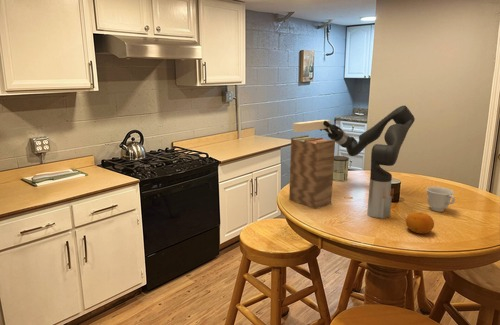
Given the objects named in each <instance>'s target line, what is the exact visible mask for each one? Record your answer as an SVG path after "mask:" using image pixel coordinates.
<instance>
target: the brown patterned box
mask: <svg viewBox="0 0 500 325" xmlns="http://www.w3.org/2000/svg"><path fill="white" fill-rule="evenodd" d="M335 145H336V142H335V140H332V139H324V138H323V137H312V136H309V135H300V136H295V137H291V138H290V162H289V163H290V167H289V171H290V172H289V195H288V196H289V198H288V200H290V201H293V202H295V203H298V204H301V205H304V206H306V207H310V208H312V209H314V210H317V209H320V208H323V207H326V206H328V205H329V206H330V205H331V204H332V199H333V196H332V195H333V183H334V181H333V167H334V156H335V148H336V146H335Z"/></svg>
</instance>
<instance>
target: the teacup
mask: <svg viewBox="0 0 500 325" xmlns="http://www.w3.org/2000/svg"><path fill="white" fill-rule="evenodd" d="M425 190H426V192H427V193H426V194H427V204H428V206H429V207H430V210H431V211H434V212H437V213H438V212H439V213H441V212H445V209H447V208H448V207H449V205H453V204H454V203H455V201H456V197H455V196H454V195H453V194H455V191H454V190H453V189H451V188H447V187H445V186H444V187H442V186H428V187H426V188H425Z"/></svg>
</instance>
